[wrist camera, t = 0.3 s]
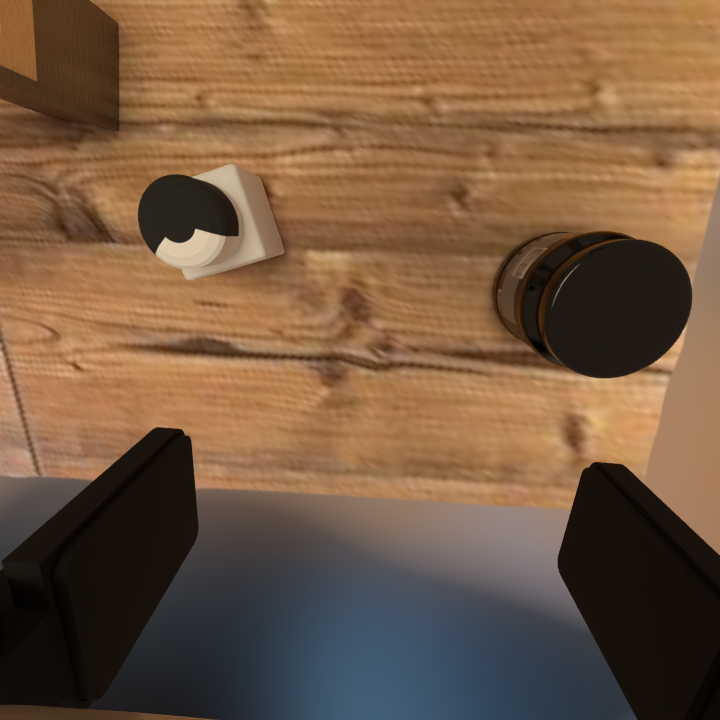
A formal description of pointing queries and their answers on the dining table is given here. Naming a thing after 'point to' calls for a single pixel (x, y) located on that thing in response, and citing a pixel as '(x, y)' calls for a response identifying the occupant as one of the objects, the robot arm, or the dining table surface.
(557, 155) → the dining table surface
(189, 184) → the medicine bottle
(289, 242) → the dining table surface
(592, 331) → the supplement container
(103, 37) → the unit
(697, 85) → the dining table surface
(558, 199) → the dining table surface
